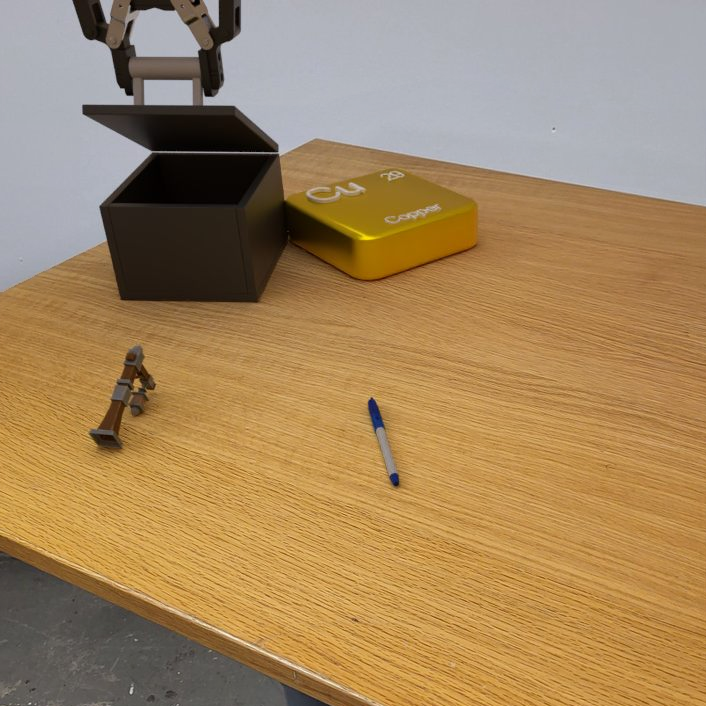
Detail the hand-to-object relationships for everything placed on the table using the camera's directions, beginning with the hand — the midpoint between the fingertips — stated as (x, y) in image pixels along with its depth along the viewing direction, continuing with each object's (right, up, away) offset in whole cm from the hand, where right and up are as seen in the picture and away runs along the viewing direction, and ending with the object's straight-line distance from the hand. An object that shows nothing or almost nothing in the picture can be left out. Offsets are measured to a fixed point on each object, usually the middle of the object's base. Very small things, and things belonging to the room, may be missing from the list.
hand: (172, 93), depth 79 cm
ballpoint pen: (+19, -30, -13) cm, 38 cm away
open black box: (0, -13, +11) cm, 17 cm away
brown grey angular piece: (0, -28, -11) cm, 30 cm away
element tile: (+17, -9, +16) cm, 25 cm away
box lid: (0, -2, +4) cm, 5 cm away
